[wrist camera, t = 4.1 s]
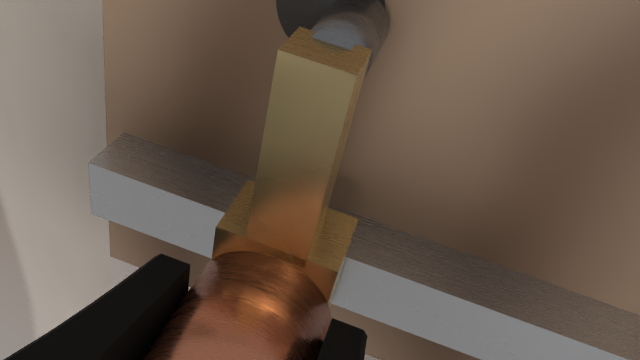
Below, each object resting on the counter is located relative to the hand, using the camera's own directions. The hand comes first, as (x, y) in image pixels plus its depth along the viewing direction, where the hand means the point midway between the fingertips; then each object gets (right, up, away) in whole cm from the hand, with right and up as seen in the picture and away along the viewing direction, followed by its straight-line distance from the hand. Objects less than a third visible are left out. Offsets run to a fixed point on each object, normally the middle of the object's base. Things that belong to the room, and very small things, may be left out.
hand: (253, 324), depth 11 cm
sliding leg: (+1, +3, +2) cm, 4 cm away
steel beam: (+6, 0, +3) cm, 7 cm away
